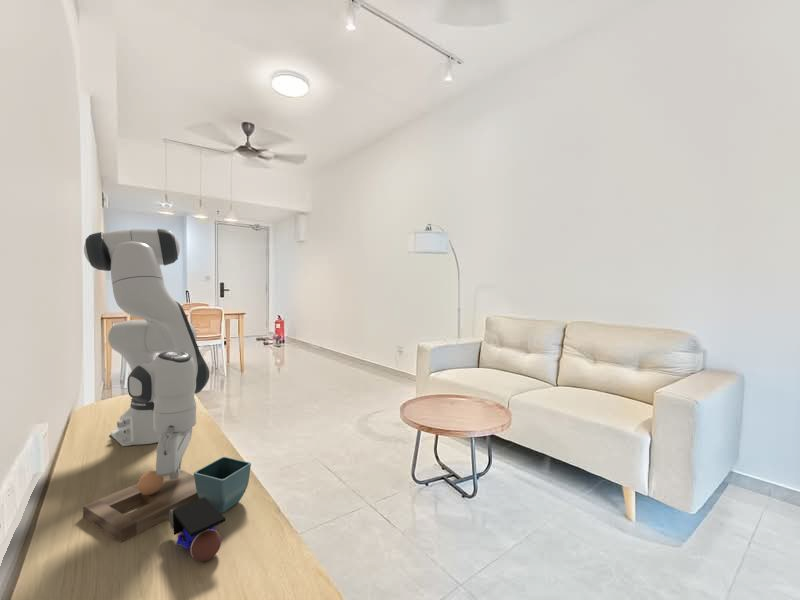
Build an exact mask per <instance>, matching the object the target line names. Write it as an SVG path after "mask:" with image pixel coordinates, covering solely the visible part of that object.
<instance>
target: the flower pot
mask: <svg viewBox="0 0 800 600" xmlns="http://www.w3.org/2000/svg"><path fill="white" fill-rule="evenodd" d="M251 467H252V463H251V462H249V461H244V460H240V459H235V458H231V457H228V456H222V457H220V458H217V459H216V460H214V461H213V462H209V464H207V465H205V466H204V467H202V468H199V469H197V470H196V471H194V472H193V475H194V478H195V484H196V490H197V494H198V497H199V499H201V498H204V497H205V498H206V499H207V500H208V501H209V502H210V503H211V504H212V505H213V506H214V507H215V508H216V509H217V510H218V511H219V512H220V513H221V514H222V513H225V512H227V511H228V510H230V509H231V508H232V507H234V506H235V505H237V504H238V503H239V502H240V501H241V499H242V498H243V496H244V495H245V493H246V491H247V487H248V485H249V480H250V473H251Z"/></svg>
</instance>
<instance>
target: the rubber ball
mask: <svg viewBox="0 0 800 600" xmlns="http://www.w3.org/2000/svg"><path fill="white" fill-rule="evenodd" d="M163 481H164V479H163V476H157V474H156V470H151V471H147V472H146V473H144V474H142V476H141V477H140V478H139V480H138V482H137V484H138V490H139V492H140V493H142V494H144V495H151V494H154V493H156V492H157V491H158V490H159V489H160V488H161V487H162V485H163Z"/></svg>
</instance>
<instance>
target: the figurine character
mask: <svg viewBox="0 0 800 600" xmlns="http://www.w3.org/2000/svg"><path fill="white" fill-rule="evenodd" d="M168 522H169V524H170V527H171V528H172V529H173V535H174V536H177V540H176V545H178V546H183V547H184V548H185V549H189V548H190V554H191V557H192V558H193V559H194V560H195V561H197V562H206V561H209V560H211V559H212V558H213V557H215V556H216V554H218V552H219V550H220V548H221V546H222V536H221V535H220V533H219V532H218V531H217V530H215V529H216V526H219V525H221V524H222V523H225V522H227V519H226V517H225V516H224V515H223V514H222V513H221V512H219V511H218V510H217V509H216V508H215V507H214V506H213V505H212V504H211V503H210V502H209V501H208V500H207V499H206V498H205V497H204V498H201V499H199V500H196V501H194V502H191V503H189V504H186V505H184V506H181V507H179V508H175V509H172V510H170V511H169V518H168Z"/></svg>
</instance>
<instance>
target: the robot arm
mask: <svg viewBox="0 0 800 600" xmlns="http://www.w3.org/2000/svg"><path fill="white" fill-rule="evenodd" d="M180 249H181V248H180V243H179V241H178V238H177V237H176V236H175V234H174V233H173V232H172V231H171V230H170V229H163V228H157V229H151V228H150V229H149V228H145V229H144V228H132V229H125V230H117V231H115V230H114V231H108V232H103V231H100V232H95V233H92V234H89V235H88V236H87V237H86V238H85V243H84V246H83V251H84V252H83V253H84V256H85V258H86V260H87V261H88V263H89V264H90V266H91V267H92V268H94V269H96V270H98V271H105V272H106V271H107V272H110V277H111V278H110V280H111V285H112V286H111V287H112V292H113V293H112V294H113V298H114V301H115V302H116V304H117V306H118V307H119V309H120V310H122V311H123V312H125V313H126V314H128V315H130V316H132V317H134V318H137V319H130V320H126V321H125V320H124V321H120V322H117V323H115V324H113V326H112V327H111V328H110V330H109V332H108V334H107V340H108V344H109V346H110V347H111V349H112V350H114V351H115V352H117V353H118V354H119V355H120V356H121V357H123V358H124V360H125V361H126V362H127V364H128V365H129V368H130V371H131V372H130V373H129V375H128V377H127V393H128V395H129V397H130V405H129V406H130V407H129V408H128V409H127V410H126V411H125V412H124V413H122V414H121V415H120V417H119V420H118V421H116V427H117V428H116V429H115V428H114V429H113V430H111V431H110V436H111V437H112V438H113V439H114V440H115V441H116V442H117V443H118V444H119V445H120V446H122V447H128V446H137V445H150V444H151V445H152V444H155V443H157V446H156V458H155V459H156V462H155V471H156V474H157V476H166V475H170V479H171V480H172V479H177V478H178V476H179V474H180V472H181V470H182V467H181V466H182V460H183V457H184V455H185V453H186V452H187V449H188V447H189V445H190V442H191V439H192V435H193V434H192V433H193V427H195V426H196V425H197V402H196V398H195V394H199V393H201V392H202V391H203V389H204V388H205V387H206V386H207V384H208V381H209V379H210V375H211V374H210V369H209V365H208V364H207V363H206V361H205V358H204V356H203V355H202V353H201V352H200V349H199V345H198V343H197V336H198V335H197V334H198V333H197V331H196V327H195V326H194V325H193V324H192V323H191V322H190V321H189V319H188V317H187V314H186V313H185V310H184V308H183V307H182V305H181V303H180V302H178V301H177V300H174V298H173V297H172V296H171V295H170V293H169V292H168V290H167V287H166V286H165V280H164V276H163V273H162V268H161V266H165V267H166V266H168V265H171V264H174V263H175V262H176V261H177V260H178V259H179V255H180V253H181V252H180Z"/></svg>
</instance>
